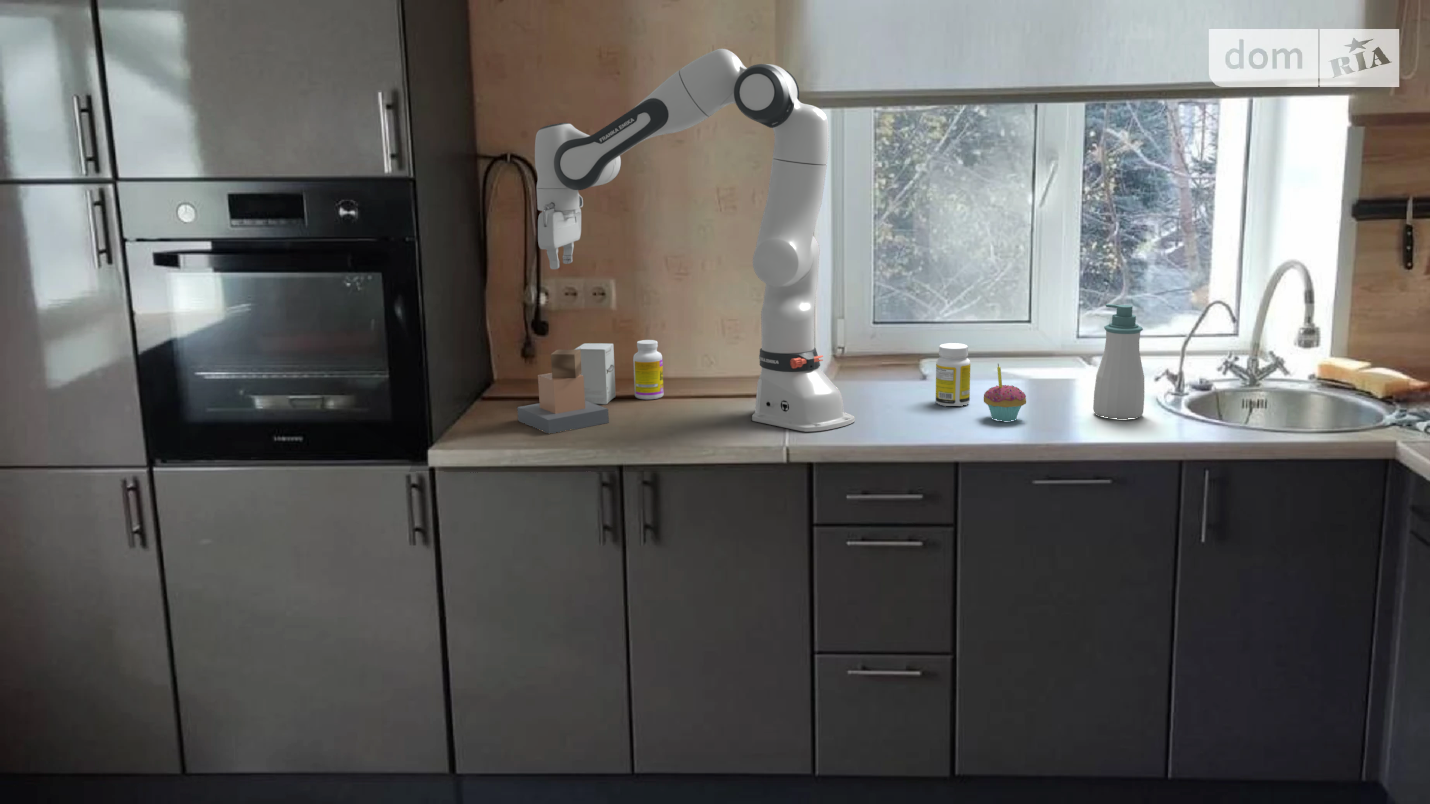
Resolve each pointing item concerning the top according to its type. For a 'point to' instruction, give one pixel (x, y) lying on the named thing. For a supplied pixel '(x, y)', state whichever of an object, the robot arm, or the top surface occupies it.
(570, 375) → the walnut block
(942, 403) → the supplement bottle
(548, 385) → the terracotta block
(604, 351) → the supplement box
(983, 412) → the top surface
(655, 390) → the supplement bottle
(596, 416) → the base slab
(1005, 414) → the cupcake
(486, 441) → the top surface
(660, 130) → the robot arm
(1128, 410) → the soap bottle
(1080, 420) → the top surface
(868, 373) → the top surface
